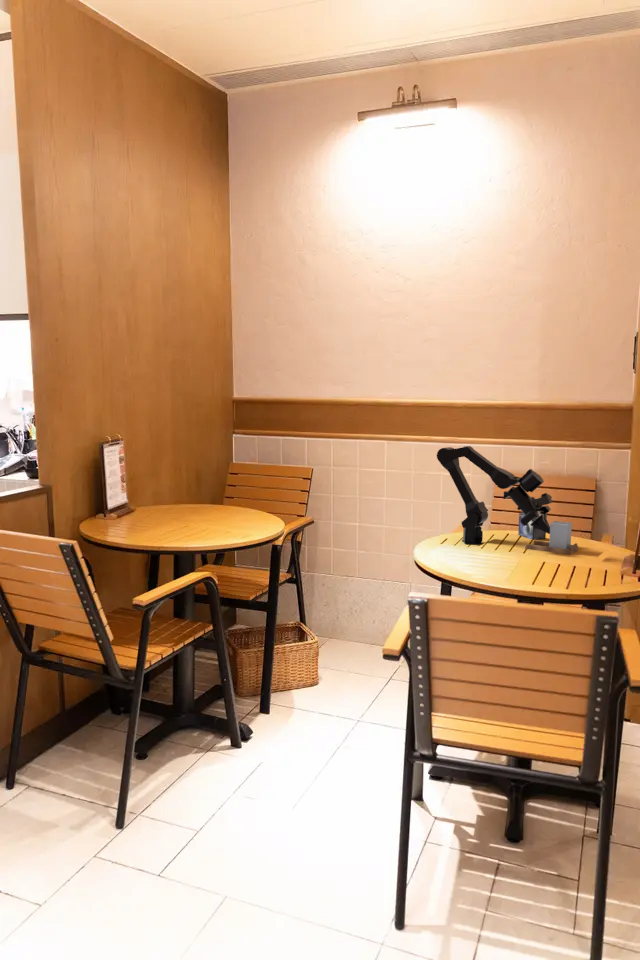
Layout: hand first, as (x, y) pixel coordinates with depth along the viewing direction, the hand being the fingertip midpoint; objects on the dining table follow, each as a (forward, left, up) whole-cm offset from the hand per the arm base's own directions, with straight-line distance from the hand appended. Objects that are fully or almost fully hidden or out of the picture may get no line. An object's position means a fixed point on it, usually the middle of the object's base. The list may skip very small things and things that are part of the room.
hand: (551, 533), depth 280 cm
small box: (0, +23, -8) cm, 25 cm away
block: (+3, -2, -6) cm, 7 cm away
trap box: (0, 0, -7) cm, 7 cm away
